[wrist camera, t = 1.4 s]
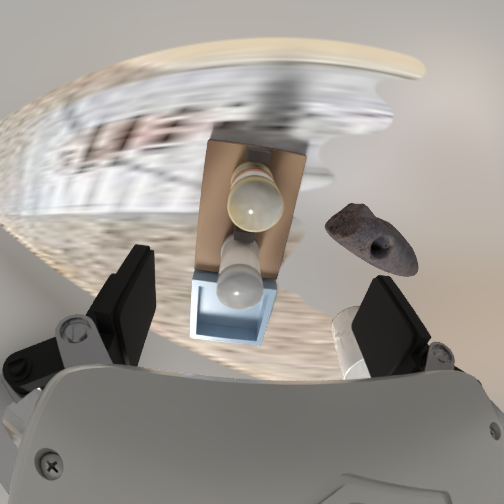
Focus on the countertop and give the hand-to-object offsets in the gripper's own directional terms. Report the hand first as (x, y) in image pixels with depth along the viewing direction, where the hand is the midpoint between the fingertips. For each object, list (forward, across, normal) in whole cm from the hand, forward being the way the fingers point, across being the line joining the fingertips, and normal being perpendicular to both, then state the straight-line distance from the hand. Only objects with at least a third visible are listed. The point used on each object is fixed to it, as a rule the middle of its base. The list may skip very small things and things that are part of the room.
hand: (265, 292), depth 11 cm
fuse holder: (+20, 0, +4) cm, 20 cm away
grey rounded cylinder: (+18, 0, +8) cm, 20 cm away
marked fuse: (+18, 0, 0) cm, 18 cm away
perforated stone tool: (+20, -16, +4) cm, 26 cm away
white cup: (+20, -19, +19) cm, 34 cm away
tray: (+20, 0, +17) cm, 26 cm away
